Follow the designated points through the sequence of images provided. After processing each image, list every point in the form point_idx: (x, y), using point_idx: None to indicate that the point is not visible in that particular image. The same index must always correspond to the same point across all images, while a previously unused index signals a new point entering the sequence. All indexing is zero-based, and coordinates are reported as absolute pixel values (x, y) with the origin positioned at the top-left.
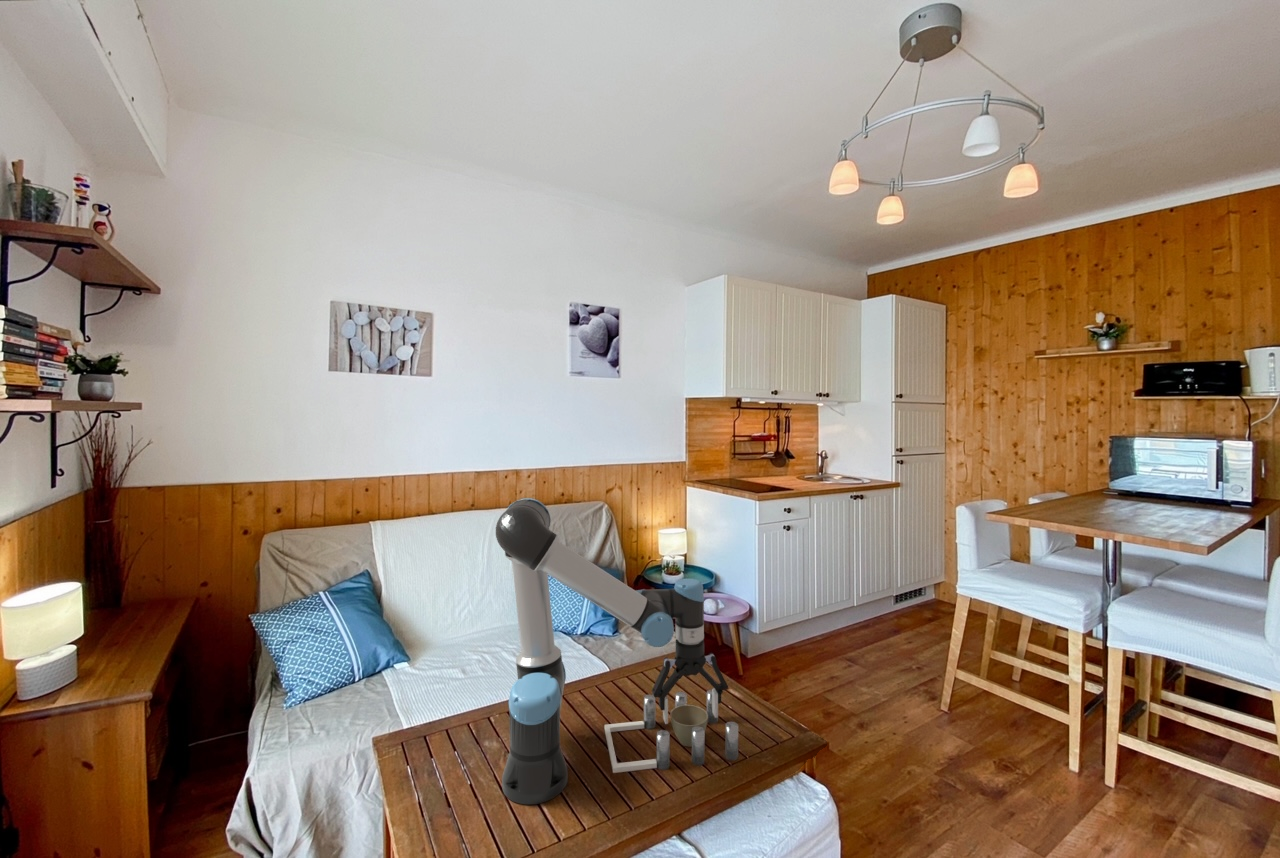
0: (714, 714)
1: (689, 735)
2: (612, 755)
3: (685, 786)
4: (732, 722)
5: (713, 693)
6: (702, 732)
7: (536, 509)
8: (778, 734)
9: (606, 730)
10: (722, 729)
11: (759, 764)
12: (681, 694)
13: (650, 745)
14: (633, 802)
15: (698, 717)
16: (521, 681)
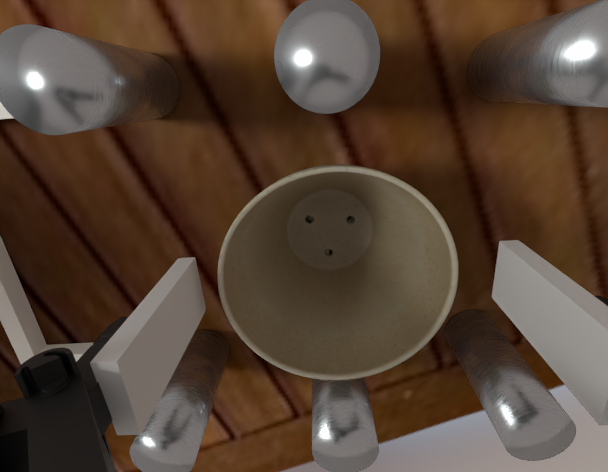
0: (499, 289)
1: (316, 331)
2: (6, 316)
3: (270, 429)
4: (556, 417)
5: (594, 366)
6: (361, 465)
7: None
8: None
9: None
10: (515, 157)
11: (545, 374)
12: (331, 57)
13: (159, 239)
14: (121, 460)
15: (405, 203)
16: None
